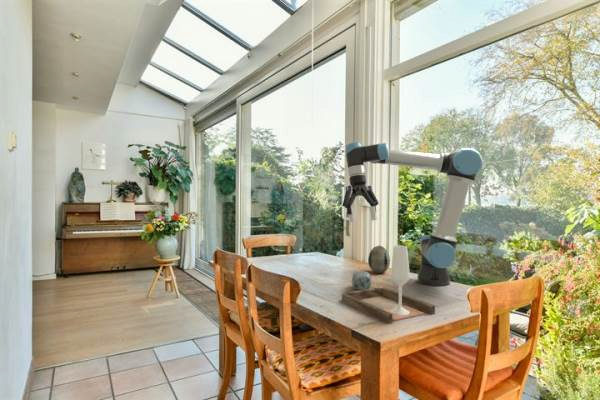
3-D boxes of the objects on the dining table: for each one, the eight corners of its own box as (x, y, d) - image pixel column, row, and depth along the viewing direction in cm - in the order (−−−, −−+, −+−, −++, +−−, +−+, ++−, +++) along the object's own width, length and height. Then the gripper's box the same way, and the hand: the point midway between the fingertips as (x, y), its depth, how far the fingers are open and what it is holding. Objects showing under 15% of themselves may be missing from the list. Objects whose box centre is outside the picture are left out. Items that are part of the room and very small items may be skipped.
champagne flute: (388, 308, 133) (389, 245, 132) (406, 308, 132) (407, 245, 132) (393, 314, 126) (393, 248, 125) (412, 315, 126) (412, 248, 125)
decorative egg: (363, 272, 197) (363, 245, 197) (380, 269, 202) (380, 243, 201) (376, 276, 186) (376, 248, 186) (394, 274, 191) (394, 246, 191)
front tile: (405, 306, 137) (405, 305, 137) (424, 314, 128) (424, 313, 128) (376, 312, 130) (376, 310, 130) (394, 320, 122) (394, 319, 122)
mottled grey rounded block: (375, 287, 153) (365, 265, 156) (356, 296, 154) (345, 275, 157) (376, 286, 166) (367, 267, 169) (358, 295, 167) (349, 275, 170)
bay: (382, 293, 155) (382, 286, 155) (434, 313, 129) (434, 305, 129) (340, 300, 145) (340, 293, 145) (387, 323, 119) (387, 315, 119)
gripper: (371, 178, 175) (377, 220, 172) (331, 177, 161) (337, 223, 159) (382, 174, 169) (388, 218, 166) (341, 173, 155) (347, 221, 152)
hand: (363, 221), depth 162 cm, fingers open, 13 cm apart
